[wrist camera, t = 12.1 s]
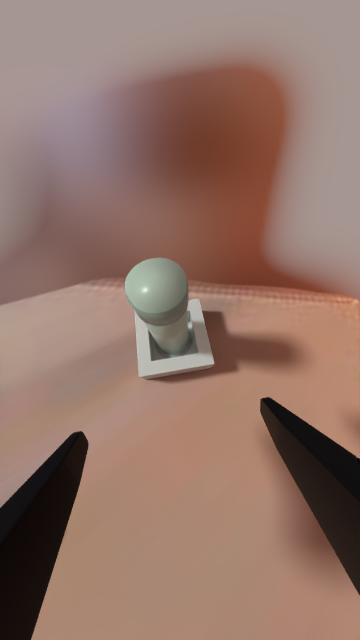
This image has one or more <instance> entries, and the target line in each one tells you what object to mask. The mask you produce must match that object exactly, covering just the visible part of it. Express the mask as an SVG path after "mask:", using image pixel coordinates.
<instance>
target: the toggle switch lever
mask: <svg viewBox="0 0 360 640" xmlns="http://www.w3.org/2000/svg"><path fill="white" fill-rule="evenodd" d="M125 291H126V295H127V299H128V301H129V303H130V304H131V306H132V307H133V309H134V310H135V312H136V313H137V315H138V316H139V318H140V319H141V320H143V322H144V323H145V325H146V326H147V328H148V329H149V331H150V333H151V334H152V336H153V337H154V339H155V340H156V342H157V344H158V345H159V347H160V348H161V350H162V351H163V352H165V353H166V354H169V355H176V354H179V353H181V352H183V351H184V350H185V348H186V347H187V344H188V313H187V307H188V281H187V278H186V275H185V272H184V270H183V269H182V268H181V267H180V266H179V265H178V264H177V263H175V262H174V261H172V260H169V259H165V258H152V259H148V260H145V261H143V262H141V263H139V264H137V265H136V266H135V267H134V268H133V269H132V270H131V271H130V272H129V274H128V276H127V278H126V281H125Z"/></svg>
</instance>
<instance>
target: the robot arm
mask: <svg viewBox="0 0 360 640" xmlns="http://www.w3.org/2000/svg"><path fill="white" fill-rule="evenodd" d="M260 412H261V415H262V417H263V419H264V422H265V424H266V426H267V428H268V431H269V433H270V435H271V437H272V439H273V442H274V444H275V446H276V448H277V450H278V452H279V454H280V455H281V457H282V459H283V461H284V462H285V464H286V466H287V468H288V470H289V471H290V473H291V475H292V477H293V478H294V480H295V482H296V484H297V486H298V487H299V489H300V491H301V493H302V494H303V496H304V498H305V500H306V501H307V503H308V505H309V507H310V509H311V510H312V512H313V514H314V516H315V517H316V519H317V521H318V523H319V524H320V526H321V528H322V530H323V532H324V533H325V535H326V537H327V539H328V540H329V542H330V544H331V546H332V547H333V549H334V551H335V553H336V555H337V556H338V558H339V560H340V562H341V563H342V565H343V567H344V569H345V570H346V572H347V574H348V576H349V578H350V579H351V581H352V583H353V585H354V586H355V588H356V590H357V592H358V593H359V595H360V459H359V458H357V457H356V456H355V455H353V454H352V453H350V452H349V451H348V450H346V449H345V448H343V447H342V446H340V445H339V444H337V443H336V442H334V441H333V440H331V439H330V438H328V437H327V436H326V435H324V434H323V433H321V432H320V431H318V430H317V429H315V428H314V427H312V426H311V425H309V424H308V423H307V422H305V421H304V420H302V419H301V418H299V417H298V416H296V415H295V414H293V413H292V412H290V411H289V410H287V409H286V408H285V407H283V406H282V405H280V404H279V403H277V402H276V401H274V400H273V399H271V398H269V397H266V398H262V399H261V402H260ZM87 450H88V440H87V439H86V437H85V435H84V433H83V432H82V431H79V432H74V433H72V434H71V435H70V436H69V437H68V438H67V439H66V440H65V441H64V443H63V444H62V445H61V446H60V447H59V448H58V449H57V450H56V451H55V452H54V453H53V454H52V455H51V456H50V457H49V458H48V459H47V460H46V461H45V462H44V463H43V464H42V465H41V466H40V467H39V468H38V469H37V471H36V472H35V473H34V474H33V475H32V476H31V477H30V478H29V479H28V480H27V481H26V482H25V483H24V484H23V485H22V486H21V487H20V488H19V489H18V490H17V491H16V492H15V493H14V494H13V495H12V496H11V497H10V499H9V500H8V501H7V502H6V503H5V504H4V505H3V506H2V507H1V508H0V640H31V638H32V635H33V632H34V628H35V625H36V622H37V619H38V616H39V613H40V609H41V606H42V603H43V600H44V597H45V593H46V590H47V587H48V584H49V581H50V578H51V574H52V571H53V568H54V565H55V562H56V559H57V555H58V552H59V549H60V546H61V543H62V539H63V536H64V533H65V530H66V527H67V524H68V520H69V517H70V514H71V511H72V508H73V504H74V501H75V498H76V495H77V492H78V488H79V485H80V481H81V477H82V472H83V468H84V464H85V459H86V455H87Z"/></svg>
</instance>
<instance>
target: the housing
mask: <svg viewBox="0 0 360 640" xmlns="http://www.w3.org/2000/svg"><path fill="white" fill-rule="evenodd" d="M187 313H188V344H187V347H186V348H185V350H184V351H183V352H181V353H179V354H176V355H169V354H166V353H165V352H163V351H162V350H161V348H160V347H159V345H158V344H157V342H156V340H155V339H154V337H153V336H152V334H151V333H150V331H149V329H148V328H147V326H146V325H145V323H144V322H143V320H141V319H140V318H139V316H138V315H137V313H136V312H135V324H136V340H137V355H138V371H139V377H140V378H143V379H152V378H158V377H163V376H169V375H175V374H180V373H186V372H192V371H197V370H203V369H209V368H211V367H212V366H213V365H214V360H213V355H212V351H211V347H210V343H209V339H208V335H207V330H206V326H205V322H204V318H203V314H202V310H201V305H200V301H199V299H193V300H188V307H187Z"/></svg>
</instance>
